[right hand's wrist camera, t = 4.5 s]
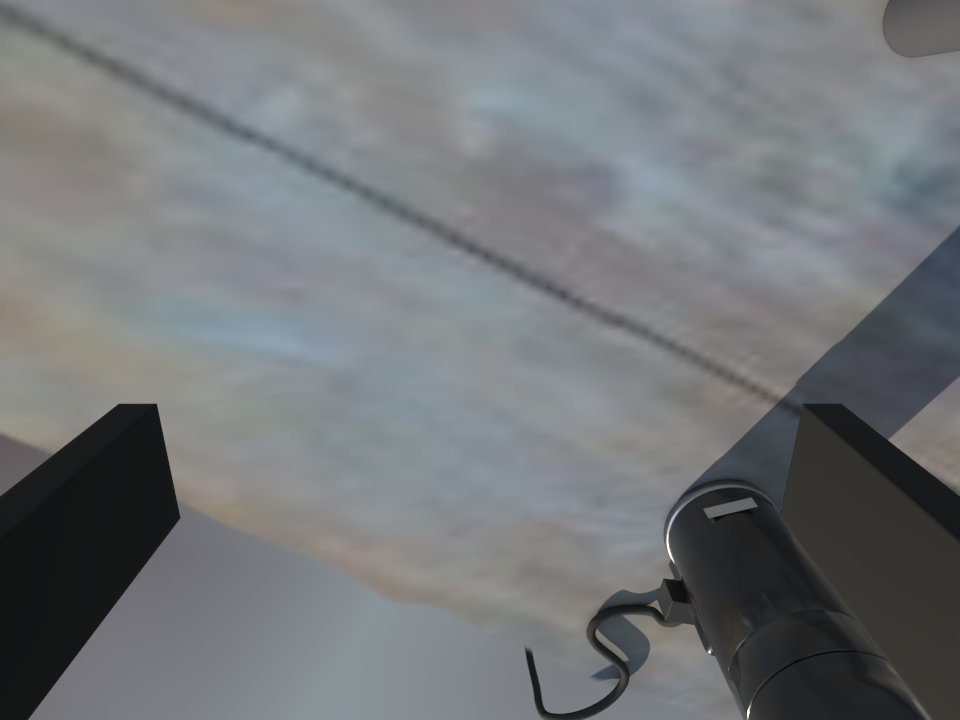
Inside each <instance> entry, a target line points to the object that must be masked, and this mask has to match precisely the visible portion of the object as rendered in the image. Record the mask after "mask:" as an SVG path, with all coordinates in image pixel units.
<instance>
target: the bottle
mask: <svg viewBox="0 0 960 720" xmlns="http://www.w3.org/2000/svg"><path fill="white" fill-rule="evenodd" d="M883 31H884V36H885V39H886V41H887V43H888V45H889V46H890V47H891V49H892V50H893V51H895V52H896V53H898V54H900V55H902V56H905V57H922V56H928V55H935V54H942V53H949V52H955V51H960V0H890V1H889V2H888V5H887V7H886V10H885V13H884V18H883Z"/></svg>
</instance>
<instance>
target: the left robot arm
mask: <svg viewBox="0 0 960 720" xmlns="http://www.w3.org/2000/svg"><path fill="white" fill-rule="evenodd" d="M664 541H665V545H666V548H667V550H668V553H669V555H670V557H671V561H670V563H669V566H670V569H671V571H672V573H673V576H674V578H675V580H670V579H663V582H662V584H661V587H660V590H659V592H658V595H657V600H658V602H659V605H660V608H661V611H662V613H663V615H662V614H661V613H660V612H659V611H658V610H657V609H656V608H654V607H650V606H642V605H625V606H616V607H611V608H608V609H605V610H603V611H601V612H600V613H598V614H597V615H596V616H595V617H594V618H593V619H592V620H591V621H590V623H589V625H588V628H587V638H588V640H589V642H590V644H591V645H592V646H593V648H594V649H595V650H596V651H598V652H599V653H600V654H601V655H602V656H604V657H605V658H606V659H608V660H609V661H610V662H611V663H613V664H614V665H615V666H616V667H617V668H618V669H619V671H620V673H621V679H620V681H619V683H618V684H617V686H616V687H615V688H614V690H613V691H612V692H611V693H610V694H609V695H607V696H606V697H605V698H604V699H602V700H601V701H599V702H598V703H596V704H594V705H592V706H590V707H587V708H585V709H582V710H579V711H576V712H572V713H565V714H553V713H549V712H547V711H546V710H545V708H544V706H543V702H542V695H541V688H540V684H539V680H538V675H537V671H536V667H535V663H534V658H533V653H532V651H531V650H529V649H527V648H525V653H526V659H527V664H528V669H529V673H530V678H531V682H532V686H533V692H534V700H535V706H536V709H537V711H538V714H539V715H540V717H541V718H542V719H544V720H583V719H586V718H589V717H591V716H593V715H596V714H597V713H599V712H601V711H603V710H604V709H606V708H607V707H609V706H610V705H611V704H613V703H614V702H615V701H616V700H617V699H618V698H619V697H620V696H621V694H622V693H623V692H624V690H625V689H626V687H627V685H628V682H629V677H630V675H629V670H628V668H627V667H626V665H625V663H624V662H623V661H622V660H621V659H620V658H619V657H618V656H617V655H615V654H614V653H613V652H612V651H610V650H609V649H608V648H606V647H605V646H604V645H603V644H602V643H601V642H600V641H599V640H598V639H597V638H596V635H595V631H596V629H597V627H598V626H599V625H600V624H601V623H602V622H604V621H605V620H607V619H609V618H611V617H615V616H619V615H628V614H636V615H647V616H652V617H653V618H654V619H655V620H656V621H657V622H658V623H659V624H660V625H661V626H664V627H676V626H678V625H680V624H682V623H685V624H691V625H695V627H696V630H697V632H698V634H699V637H700V639H701V641H702V644H703V646H704V649H705V650H706V652H707V653H708V654H710V655H712V656H715V657H716V659H717V661H718V663H719V666H720V668H721V670H722V673H723V675H724V677H725V679H726V682H727V684H728V686H729V688H730V691H731V692H732V695H733V697H734V699H735V702H736V704H737V706H738V708H739V711H740V713H741V715H742V717H743V720H932V719H931V718H930V716H929V715H928V714H927V712H926V711H925V710H924V708H923V707H922V706H921V704H920V703H919V702H918V700H917V699H916V698H915V696H914V695H913V694H912V692H911V691H910V690H909V688H908V687H907V686H906V684H905V683H904V682H903V681H902V679H901V678H900V677H899V675H898V674H897V673H896V671H895V670H894V669H893V667H892V666H891V665H890V663H889V662H888V661H887V659H886V658H885V657H884V655H883V654H882V653H881V651H880V650H879V649H878V647H877V646H876V645H875V643H874V642H873V641H872V640H871V638H870V637H869V636H868V634H867V633H866V632H865V630H864V629H863V628H862V626H861V625H860V624H859V622H858V621H857V620H856V618H855V617H854V616H853V614H852V613H851V612H850V610H849V609H848V608H847V606H846V605H845V604H844V603H843V601H842V600H841V599H840V597H839V596H838V595H837V593H836V592H835V591H834V589H833V588H832V587H831V585H830V584H829V583H828V581H827V580H826V579H825V577H824V576H823V575H822V573H821V572H820V571H819V569H818V568H817V567H816V565H815V564H814V563H813V562H812V560H811V559H810V558H809V556H808V555H807V554H806V552H805V551H804V550H803V548H802V547H801V546H800V544H799V543H798V542H797V540H796V539H795V538H794V536H793V535H792V534H791V532H790V531H789V530H788V528H787V527H786V526H785V525H784V523H783V522H782V521H781V519H780V512H779V510H778V508H777V507H776V505H775V504H774V502H773V501H772V500H771V499H770V497H769V496H768V495H767V494H766V493H765V492H764V491H762V490H761V489H759V488H758V487H756V486H754V485H752V484H749V483H746V482H742V481H736V480H721V481H715V482H710V483H707V484H704V485H702V486H699V487H697V488H695V489H693V490H692V491H690V492H688V493H687V494H686V495H684V496H683V497H682V498H681V499H680V500H679V501H678V502H677V503H676V504H675V505H674V507H673V508H672V509H671V511H670V513H669V515H668V517H667V519H666V522H665V526H664Z"/></svg>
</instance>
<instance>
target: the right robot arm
mask: <svg viewBox="0 0 960 720" xmlns="http://www.w3.org/2000/svg"><path fill="white" fill-rule="evenodd" d="M179 519H180V514H179V509H178V504H177V500H176V495H175V490H174V485H173V480H172V475H171V470H170V466H169V461H168V456H167V451H166V446H165V441H164V437H163V432H162V427H161V422H160V417H159V412H158V408H157V404H118V405H117V406H116V407H114V408H113V409H112V410H110V411H109V412H108V413H107V414H105V415H104V416H103V417H101V418H100V419H99V420H98V421H96V422H95V423H94V424H92V425H91V426H90V427H89V428H87V429H86V430H85V431H84V432H82V433H81V434H80V435H78V436H77V437H76V438H75V439H73V440H72V441H71V442H69V443H68V444H67V445H66V446H64V447H63V448H62V449H60V450H59V451H58V452H57V453H55V454H54V455H53V456H52V457H50V458H49V459H48V460H46V461H45V462H44V463H43V464H41V465H40V466H39V467H37V468H36V469H35V470H34V471H32V472H31V473H30V474H28V475H27V476H26V477H25V478H23V479H22V480H21V481H20V482H18V483H17V484H16V485H14V486H13V487H12V488H11V489H9V490H8V491H7V492H5V493H4V494H3V495H2V496H0V720H28V719H29V718H30V716H31V715H32V714H33V712H34V711H35V710H36V708H37V707H38V706H39V704H40V703H41V702H42V700H43V699H44V698H45V696H46V695H47V694H48V692H49V691H50V690H51V688H52V687H53V686H54V684H55V683H56V682H57V681H58V679H59V678H60V677H61V675H62V674H63V673H64V671H65V670H66V669H67V667H68V666H69V665H70V663H71V662H72V661H73V659H74V658H75V657H76V655H77V654H78V653H79V651H80V650H81V649H82V647H83V646H84V645H85V643H86V642H87V641H88V640H89V638H90V637H91V636H92V634H93V633H94V632H95V630H96V629H97V628H98V626H99V625H100V624H101V622H102V621H103V620H104V618H105V617H106V616H107V614H108V613H109V612H110V610H111V609H112V608H113V606H114V605H115V604H116V603H117V601H118V600H119V599H120V597H121V596H122V595H123V593H124V592H125V591H126V589H127V588H128V587H129V585H130V584H131V583H132V581H133V580H134V579H135V577H136V576H137V575H138V573H139V572H140V571H141V569H142V568H143V567H144V565H145V564H146V563H147V562H148V560H149V559H150V558H151V556H152V555H153V553H154V552H155V551H156V550H157V548H158V547H159V546H160V544H161V543H162V542H163V540H164V539H165V538H166V536H167V535H168V534H169V532H170V531H171V530H172V528H173V527H174V526H175V525H176V523H177V522H178V520H179ZM780 519H781V521H782V522H783V523H784V525H785V526H786V527H787V528H788V530H789V531H790V532H791V534H792V535H793V536H794V538H795V539H796V540H797V542H798V543H799V544H800V546H801V547H802V548H803V550H804V551H805V552H806V554H807V555H808V556H809V558H810V559H811V560H812V562H813V563H814V564H815V565H816V567H817V568H818V569H819V571H820V572H821V573H822V575H823V576H824V577H825V579H826V580H827V581H828V583H829V584H830V585H831V587H832V588H833V589H834V591H835V592H836V593H837V595H838V596H839V597H840V599H841V600H842V601H843V603H844V604H845V605H846V606H847V608H848V609H849V610H850V612H851V613H852V614H853V616H854V617H855V618H856V620H857V621H858V622H859V624H860V625H861V626H862V628H863V629H864V630H865V632H866V633H867V634H868V636H869V637H870V638H871V640H872V641H873V642H874V643H875V645H876V646H877V647H878V649H879V650H880V651H881V653H882V654H883V655H884V657H885V658H886V659H887V661H888V662H889V663H890V665H891V666H892V667H893V669H894V670H895V671H896V673H897V674H898V675H899V677H900V678H901V679H902V681H903V682H904V683H905V684H906V686H907V687H908V688H909V690H910V691H911V692H912V694H913V695H914V696H915V698H916V699H917V700H918V702H919V703H920V704H921V706H922V707H923V708H924V710H925V711H926V712H927V714H928V715H929V716H930V718H931V719H932V720H960V496H958V495H957V494H956V493H955V492H953V491H952V490H951V489H949V488H948V487H947V486H946V485H944V484H943V483H942V482H940V481H939V480H938V479H937V478H935V477H934V476H933V475H932V474H930V473H929V472H928V471H926V470H925V469H924V468H923V467H921V466H920V465H919V464H917V463H916V462H915V461H914V460H912V459H911V458H910V457H908V456H907V455H906V454H905V453H903V452H902V451H901V450H900V449H898V448H897V447H896V446H894V445H893V444H892V443H891V442H889V441H888V440H887V439H885V438H884V437H883V436H882V435H880V434H879V433H878V432H876V431H875V430H874V429H873V428H871V427H870V426H869V425H867V424H866V423H865V422H864V421H862V420H861V419H860V418H859V417H857V416H856V415H855V414H853V413H852V412H851V411H850V410H848V409H847V408H846V407H844V406H843V405H842V404H803V408H802V412H801V417H800V422H799V427H798V432H797V437H796V441H795V446H794V451H793V456H792V461H791V466H790V470H789V475H788V480H787V485H786V490H785V495H784V500H783V504H782V509H781V514H780Z"/></svg>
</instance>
